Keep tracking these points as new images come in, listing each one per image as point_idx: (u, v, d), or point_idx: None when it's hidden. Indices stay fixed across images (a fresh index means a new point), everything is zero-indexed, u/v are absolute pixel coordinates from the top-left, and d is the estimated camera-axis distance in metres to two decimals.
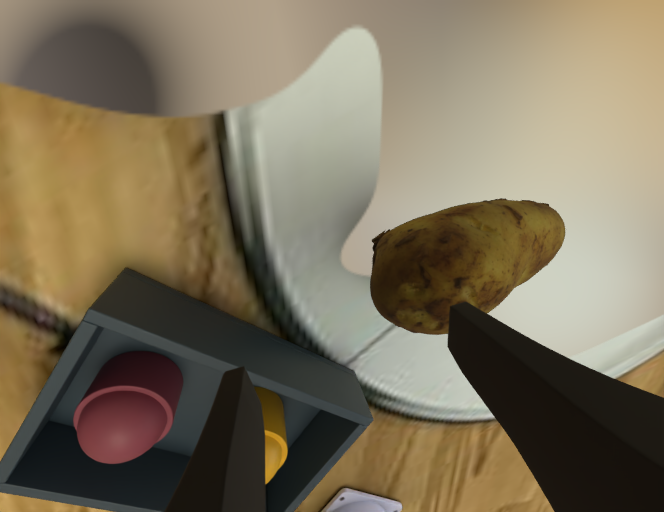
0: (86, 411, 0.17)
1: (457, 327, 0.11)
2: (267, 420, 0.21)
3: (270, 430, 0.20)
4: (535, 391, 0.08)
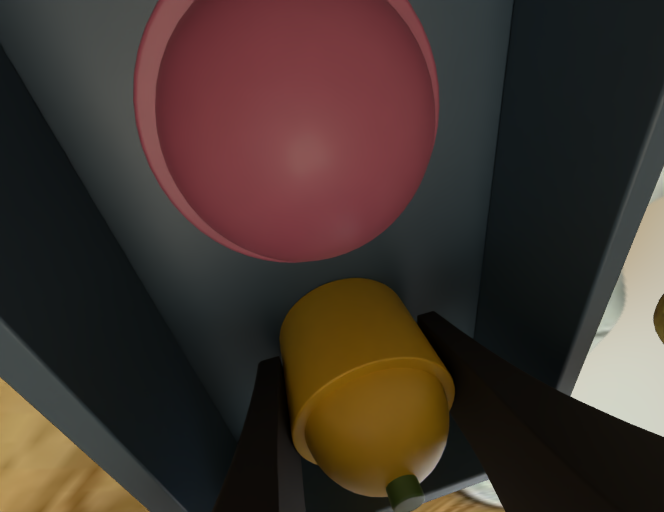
0: None
1: None
2: None
3: (454, 392, 0.09)
4: (491, 406, 0.08)
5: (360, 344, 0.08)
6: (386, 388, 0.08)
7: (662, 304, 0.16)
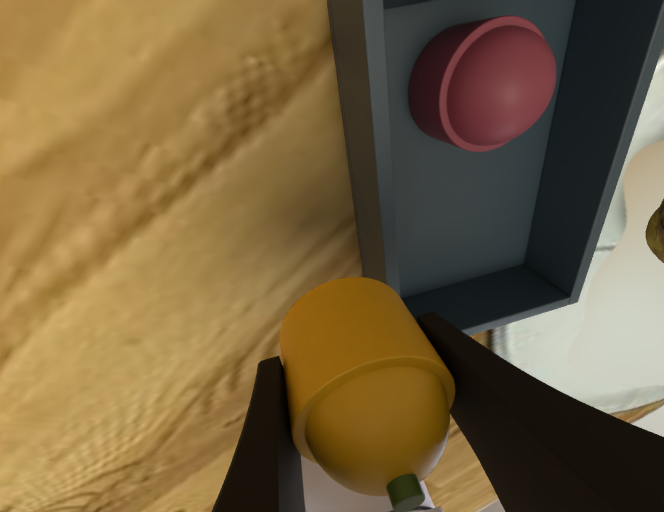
0: (523, 28, 0.12)
1: None
2: None
3: (454, 390, 0.09)
4: (491, 406, 0.08)
5: (360, 343, 0.08)
6: (386, 387, 0.08)
7: (651, 221, 0.23)
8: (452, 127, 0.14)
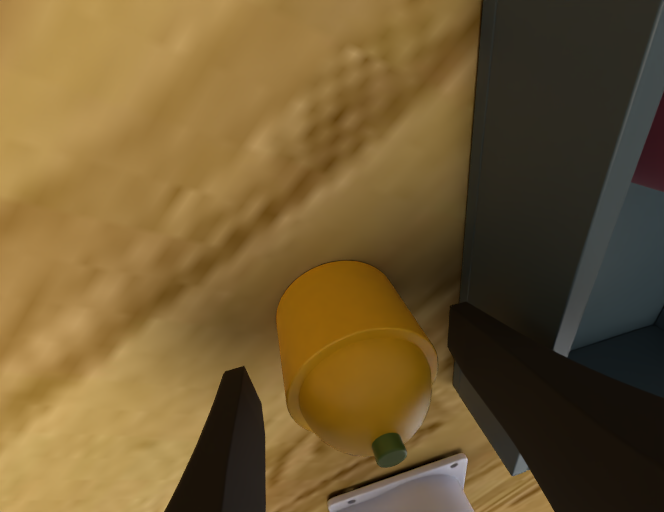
0: None
1: (457, 327, 0.11)
2: None
3: (437, 363, 0.10)
4: (535, 391, 0.08)
5: (349, 316, 0.09)
6: (372, 355, 0.08)
7: None
8: None
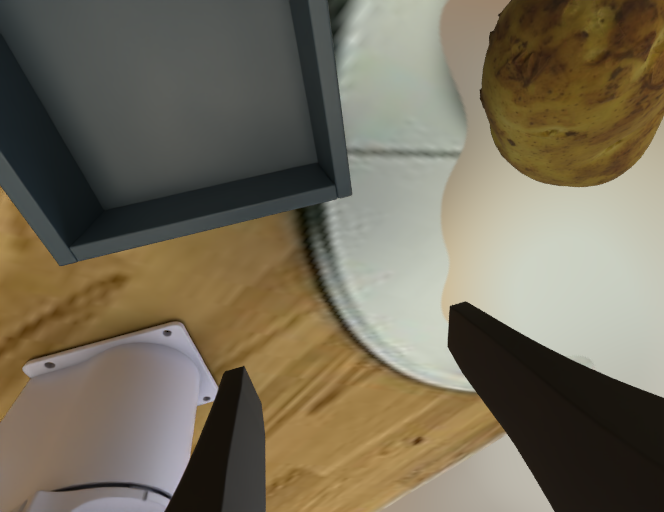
0: None
1: (457, 327, 0.11)
2: None
3: None
4: (535, 391, 0.08)
5: None
6: None
7: None
8: None
